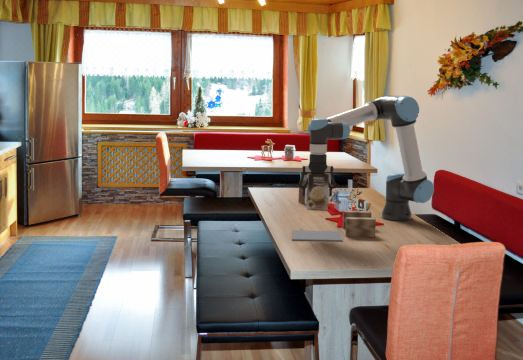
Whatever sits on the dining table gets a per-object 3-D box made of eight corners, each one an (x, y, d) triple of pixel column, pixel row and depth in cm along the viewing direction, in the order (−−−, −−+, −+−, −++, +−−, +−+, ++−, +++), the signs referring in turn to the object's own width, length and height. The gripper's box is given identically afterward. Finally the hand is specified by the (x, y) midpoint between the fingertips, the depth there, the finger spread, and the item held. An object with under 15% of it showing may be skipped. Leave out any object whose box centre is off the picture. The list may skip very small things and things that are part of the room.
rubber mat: (339, 232, 310) (339, 231, 310) (342, 241, 292) (342, 240, 292) (291, 231, 311) (291, 230, 311) (292, 240, 293) (292, 239, 293)
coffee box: (307, 210, 296) (308, 174, 294) (305, 208, 302) (306, 172, 300) (328, 210, 296) (328, 174, 294) (326, 208, 303) (327, 173, 300)
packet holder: (369, 227, 321) (370, 211, 320) (375, 236, 301) (375, 219, 300) (342, 226, 322) (343, 210, 320) (346, 236, 302) (346, 218, 301)
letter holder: (312, 208, 368) (313, 183, 366) (298, 202, 387) (298, 178, 385) (328, 207, 372) (329, 182, 370) (313, 201, 390) (314, 177, 388)
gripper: (342, 153, 299) (340, 202, 302) (293, 152, 300) (292, 201, 303) (343, 154, 292) (342, 205, 295) (293, 154, 293) (292, 204, 296)
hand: (316, 203), depth 299 cm, fingers closed on coffee box, 9 cm apart
